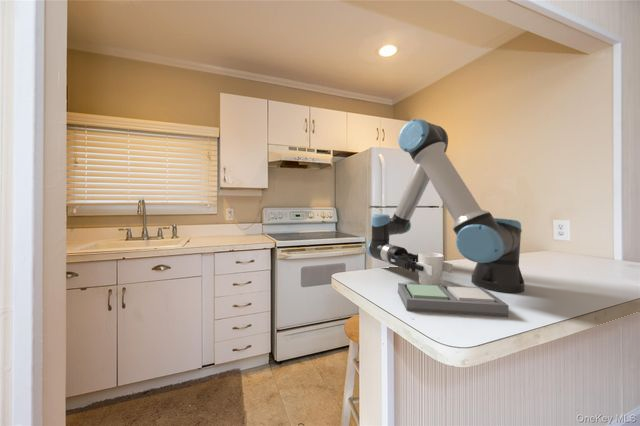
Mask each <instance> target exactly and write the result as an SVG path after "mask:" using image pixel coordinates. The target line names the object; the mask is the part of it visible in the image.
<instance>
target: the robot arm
mask: <svg viewBox="0 0 640 426" xmlns="http://www.w3.org/2000/svg"><path fill="white" fill-rule="evenodd" d="M448 136H449V135H448V133H447V131H446V129H444V128H443V127H441V126H439V125H437V124H434V123H431V122H428V121H426V120H424V119H419V118H414V119H411V120H409V121H407V122H406V123H405V124H404V125H403V126H402V128H401V129H400V131H399V135H398V138H397V140H398V141H397V142H398V146H399V148H400V150H402V151H403V152H405V153H408V154H409V156H410V157H411V159H412V161H413V162H414V164H416V165H415V167H414V169H413V171H412V174H411V176H410V178H409V180H408V183H407V185H406V187H405V190H404V191H403V193H402V196H401V198H400V200H399V203H398V205H397V207H396V209H395V211H394V214H393V216H392V217H390V215H389V214H383V213H381V214H373V215H372V216H371V241H369V242H368V243H367V245H366V253H367V254H368V255H369V256H370V257H372V258H373V259H376V260H379V261H383V262H385V263H387V264H388V265H393V266H395V267H400V268H402V269H404V270H406V271H409V270H410V269H411V273H415V272H416V271H417V272H418V271H420V272H423V273H426V274H428V275H431V276H432V275H433V270H434V267H433V266H429V265H426V264H423V263H420V262H418V253H417V254H413V253H411V252H408V250H407V249H406V248H405V247H401V246H398V245H394V244H390V236H393V235H402V234H405V233H408V232H409V231H410V230H411V227H412V224H411V219H412V217H413V214H414V213H415V211H416V208H417V207H418V204H419V202H420V200H421V198H422V196H423V194H424V193H425V190H426V188H427V186H428V185H429V183H430V182H431V184H432V186H433V188H434V189H435V191H436V192H437V194H438V196H439V198H440V199H441V201H442V203H443V204H444V207H445V208H446V210H447V211H448V213H449V215H450V217H451V218H452V219H453V220H452V221H453V227H452V230H453V232H454V233H455V235H456V239H455V245H456V249H457V251H459V253H460V254H461V255H462V256H463V257H464V258H466V259H467V260H468V261H471V262H473V263H476V264H475V267H474V269H473V271H472V274H471V278H470V279H471V281H470V282H471V283H472V284H473V285H475V286H476V287H483V288H484V289H485V290H490V291H495V292H501V293H508V294H509V293H511V294H512V293H522V292H524V291H525V281H524V278H523V275H522V271H521V269H520V256H521V255H520V253H521V240H522V239H521V238H522V235H521V234H522V233H523V232H522V231H523V230H522V224H521V222H520V221H519V220H515V219H508V218H498V217H494V216H493V214H492V213H491V212H490V211H487V210H485V209H482V208H481V206H480V204H479V203H478V202H477V201H476V198H475V197H474V195H473V194H472V192H471V191H470V190H469V187H468V186H467V185H466V183H465V182H464V180H463V178H462V177H461V175H460V174H459V172H458V171H457V169H456V168H455V166H454V165H453V163H452V161H451V159H450V158H449V156H448V155H447V154H446V152H447V150H448V147H449V137H448ZM443 271H444V272H447V273H450V274H451V273H453V263H450V262H445V261H443V270H442V272H443Z"/></svg>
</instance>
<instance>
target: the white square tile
mask: <svg viewBox="0 0 640 426" xmlns="http://www.w3.org/2000/svg"><path fill="white" fill-rule="evenodd" d="M446 286H447V290H448V291H449V292H450V293H451V294H452V295H453V296H454V297H455V298H456V299H457V300H462V301H480V302H494V301H495V299H493V298H492V297H490V296H489V295H488V294H486V293H485V292H483V291H482V290H481V289H479V288H471V287H472V286H465V287H451V286H452V285H446Z"/></svg>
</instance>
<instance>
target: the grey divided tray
mask: <svg viewBox="0 0 640 426" xmlns="http://www.w3.org/2000/svg"><path fill="white" fill-rule="evenodd" d="M407 284H408V283H404V282H402V283H400V282H399V283H397V293H398V295H399V297H400V300H401V302H402V304H403V306H404V308H405V310H406V311H408V312H409V311H410V312H425V313H442V314H456V315H472V316H473V315H475V316H487V317H488V316H489V317H490V316H491V317H503V318H504V317H505V318H507V317H509V304H507V303H506V302H505V301H503V300H502V299H500V298H499V297H497V296H496V295H494V294H493V293H491V292H490V291H488V289H486V288H483V287H479V286H470V287H471V288H479V289H481V290H482V291H483V292H485V293H486V294H488V295H489V296H490V297H492V298H493V299H495V301H494V302H480V301H462V300H457V299H456V298H455V297H454V296H453V295H452V294H451V293H450V292H449V291H448V290H447V286H448V285H443V284H441V285H431V286H438V287H439V288H440V289H441V290H442V291H443V293H444V294H445V295H446V296H447V297H448V300H445V299H427V298H413V297H412V295H411V294H410V292H409V290H408V289H407ZM411 284H412V285H425V284H420V283H411ZM450 286H451V287H466V286H463V285H462V286H461V285H460V286H459V285H450Z"/></svg>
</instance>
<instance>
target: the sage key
mask: <svg viewBox="0 0 640 426" xmlns="http://www.w3.org/2000/svg"><path fill="white" fill-rule="evenodd" d="M406 284H407V289H408V290H409V292H410V294H411V295H412V297H413V298H427V299H445V300H448V297H447V296H446V295H445V294H444V293H443V291H442V290H441V289H440V288H439V287H438V286H431V285H412V284H413V283H406Z"/></svg>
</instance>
